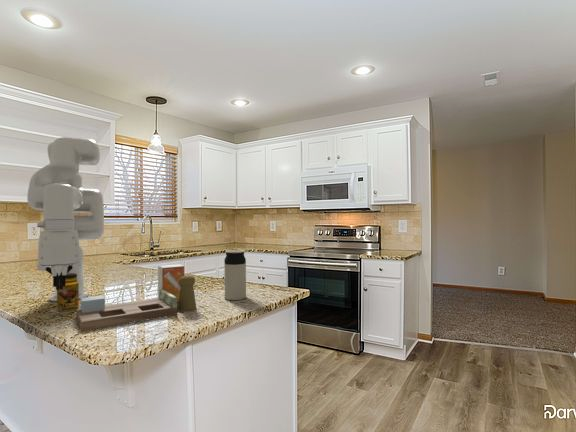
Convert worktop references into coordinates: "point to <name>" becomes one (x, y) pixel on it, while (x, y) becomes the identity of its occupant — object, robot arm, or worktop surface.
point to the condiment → (68, 295)
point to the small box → (170, 278)
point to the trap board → (129, 312)
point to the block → (92, 304)
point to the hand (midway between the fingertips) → (59, 288)
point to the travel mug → (235, 275)
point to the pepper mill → (186, 294)
